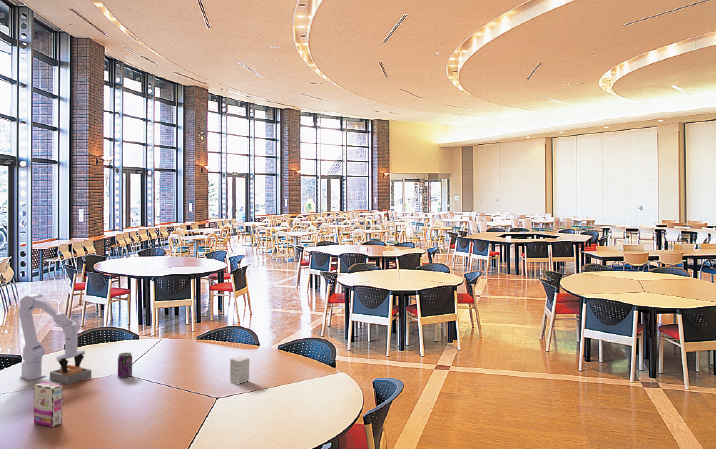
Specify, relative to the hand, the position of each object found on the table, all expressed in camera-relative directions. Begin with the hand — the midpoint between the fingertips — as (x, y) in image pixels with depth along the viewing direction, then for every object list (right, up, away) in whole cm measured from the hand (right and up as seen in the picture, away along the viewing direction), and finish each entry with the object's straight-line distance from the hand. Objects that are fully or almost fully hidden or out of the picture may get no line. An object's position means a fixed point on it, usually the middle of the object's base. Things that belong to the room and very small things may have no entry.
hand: (70, 370), depth 270 cm
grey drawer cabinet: (+89, -7, +2) cm, 89 cm away
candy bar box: (+22, -6, -56) cm, 60 cm away
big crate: (0, -4, 0) cm, 4 cm away
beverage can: (+26, -5, +6) cm, 27 cm away
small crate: (0, -3, 0) cm, 3 cm away
